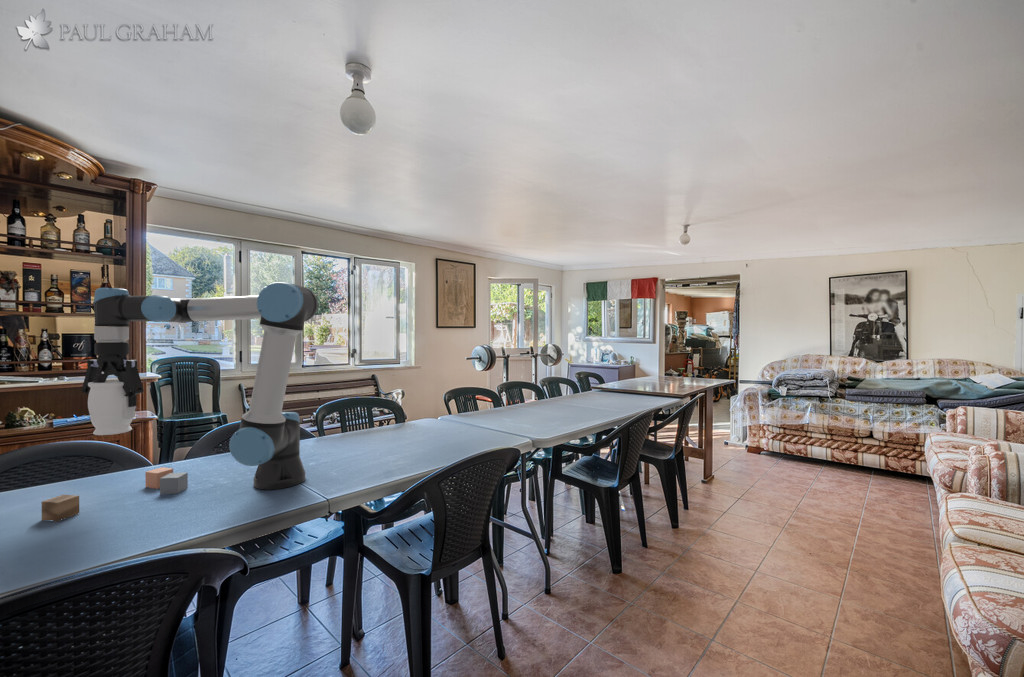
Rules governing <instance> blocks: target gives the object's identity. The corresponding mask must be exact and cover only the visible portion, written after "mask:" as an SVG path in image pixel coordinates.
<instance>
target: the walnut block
mask: <svg viewBox="0 0 1024 677" xmlns="http://www.w3.org/2000/svg"><path fill="white" fill-rule="evenodd" d="M78 513H79V514H80V495H76V494H75V495H74V494H62V495H59V496H55V497H51V498H49V499H46V500H42V501H41V521H44V520H53V521H52V522H60V521H59V520H61V519H64V518H66V519H68V518H67V517H69V518H71V517H70V516H72V517H74V516H73V515H75V514H77V515H79V514H78ZM75 516H76V515H75ZM64 520H65V519H64ZM61 521H62V520H61Z"/></svg>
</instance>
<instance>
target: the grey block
mask: <svg viewBox="0 0 1024 677" xmlns="http://www.w3.org/2000/svg"><path fill="white" fill-rule="evenodd" d="M188 476H189V474H188V472H173V473H170V474H168V475H166V476H164V477H162V478H160V488H159V494H160V495H176V494H177V495H178V493H179V494H181V493H182V492H183V490H184V491H185V490H187V489H188V488H189V487H188V486H189V485H188V484H189V483H188V481H189V480H188V478H189V477H188ZM181 491H182V492H181Z"/></svg>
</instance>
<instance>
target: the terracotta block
mask: <svg viewBox="0 0 1024 677" xmlns="http://www.w3.org/2000/svg"><path fill="white" fill-rule="evenodd" d="M170 473H174V468H170V467H164V466H163V467H158V468H154V469H151V470H147V471H145V488H147V487H149V488H148V489H154V488H155V489H156V490H158V489H160V478H162V477H164V476H166V475H168V474H170Z"/></svg>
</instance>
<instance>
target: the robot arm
mask: <svg viewBox="0 0 1024 677" xmlns="http://www.w3.org/2000/svg"><path fill="white" fill-rule="evenodd" d="M93 299H94V300H93V302H92V304H93V311H94V312H93V314H94V326H93V328H94V329H93V332H94V334H93V339H94V340H95V341H97V342H94V355H95V356H97V359H87V361H86V364H87V366H86V367H87V368H86V372H85V377H84V379H83V383H82V388H81V392H82V393H83V394H87V395H89V392H90V387H89V386H88V383H89V382H93V383H105V381H106V380H108V377H109V376H110V375H113V376H114V377H116V378H117V380H119V382H124V385H123V386H122V387H123V389H124V391H125V393H126V395H124V419H129V418H133V419H134V418H136V408H135V406H136V407H137V403H138V402H137V396H138V395H139V394H141V393H144V386H143V384H142V380H141V375H140V372H139V368H138V360H137V359H130V360H129V359H128V358H127V355H130V343H129V342H127V341H129V340H130V322H154V323H157V322H158V323H159V322H160V323H162V322H163V323H166V322H167V323H178V324H187V323H188V324H189V323H192V322H208V321H209V322H212V321H215V322H217V321H238V320H239V321H240V320H256V319H257V320H259V325H260V327H261V328H262V330H263V336H262V341H261V347H260V353H259V358H258V363H257V368H256V373H255V378H254V383H253V387H252V394H251V398H250V403H249V409H248V411H246V412H245V413H243V414H242V416H241V419H240V424H239V428H238V430H236V431H235V432H234V433H233V434H232V436H231V438H230V439H229V442H228V443H229V445H228V448H229V451H230V454H231V456H232V457H233V458H234V460H235V461H236V462H237V463H239V464H242V465H244V466H247V467H249V466H250V467H256V466H257V468H256V470H255V474H254V477H253V487H254V488H256V489H258V490H280V489H284V488H285V489H286V488H290V487H294V486H296V485H299V484H301V483H303V482H304V481H305V480H306V470H305V467H304V465H303V462H302V460H301V457H300V456H301V455H300V452H301V450H300V448H301V447H300V445H301V444H300V443H301V442H300V440H301V439H300V436H301V435H300V434H301V425H300V424H301V421H300V415H299V413H298V412H295V411H283V407H284V401H285V396H286V390H287V385H288V380H289V374H290V370H291V365H292V360H293V354H294V350H295V349H294V348H295V344H296V338H297V336H298V335H299V334H301V333H303V331H304V326H305V322H307V321H309V320H311V319H313V317H314V316H315V315H316V314H317V311H318V308H319V302H318V298H317V296H316V294H315V293H314V292H313V291H312V290H310V289H309V288H307V287H305V286H301V285H297V284H295V283H291V282H287V281H277V282H272V283H269V284H267V285H266V286H264V287H263V288H262V289H261V291H260V292H259V293H258V295H241V296H219V297H218V296H217V297H194V298H193V297H191V298H189V297H188V298H173V297H169V296H166V295H156V294H153V295H130V293H129V290H128V289H126V288H119V287H118V288H117V287H116V288H115V287H98V288H97V289H95V290H94V298H93ZM94 340H93V341H94ZM130 390H131V391H130Z"/></svg>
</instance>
